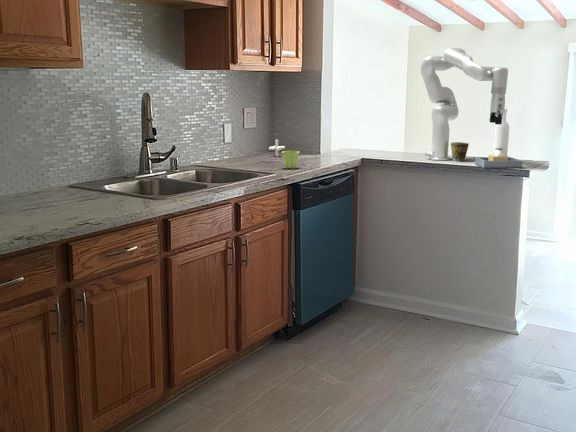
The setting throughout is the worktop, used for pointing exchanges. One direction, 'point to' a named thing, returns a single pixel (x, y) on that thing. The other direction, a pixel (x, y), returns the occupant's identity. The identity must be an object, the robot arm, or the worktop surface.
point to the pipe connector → (276, 147)
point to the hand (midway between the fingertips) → (495, 123)
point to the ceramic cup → (459, 150)
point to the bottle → (501, 135)
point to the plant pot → (290, 158)
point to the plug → (498, 151)
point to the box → (498, 162)
